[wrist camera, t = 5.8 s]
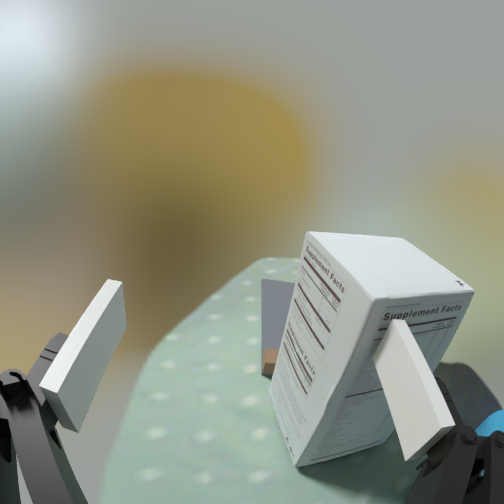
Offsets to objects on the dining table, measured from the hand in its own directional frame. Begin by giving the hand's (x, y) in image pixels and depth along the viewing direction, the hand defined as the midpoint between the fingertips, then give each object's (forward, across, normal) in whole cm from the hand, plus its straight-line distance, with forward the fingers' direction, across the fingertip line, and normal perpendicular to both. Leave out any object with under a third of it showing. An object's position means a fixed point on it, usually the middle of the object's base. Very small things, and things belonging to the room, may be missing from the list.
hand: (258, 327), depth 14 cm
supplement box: (+4, +9, -15) cm, 18 cm away
